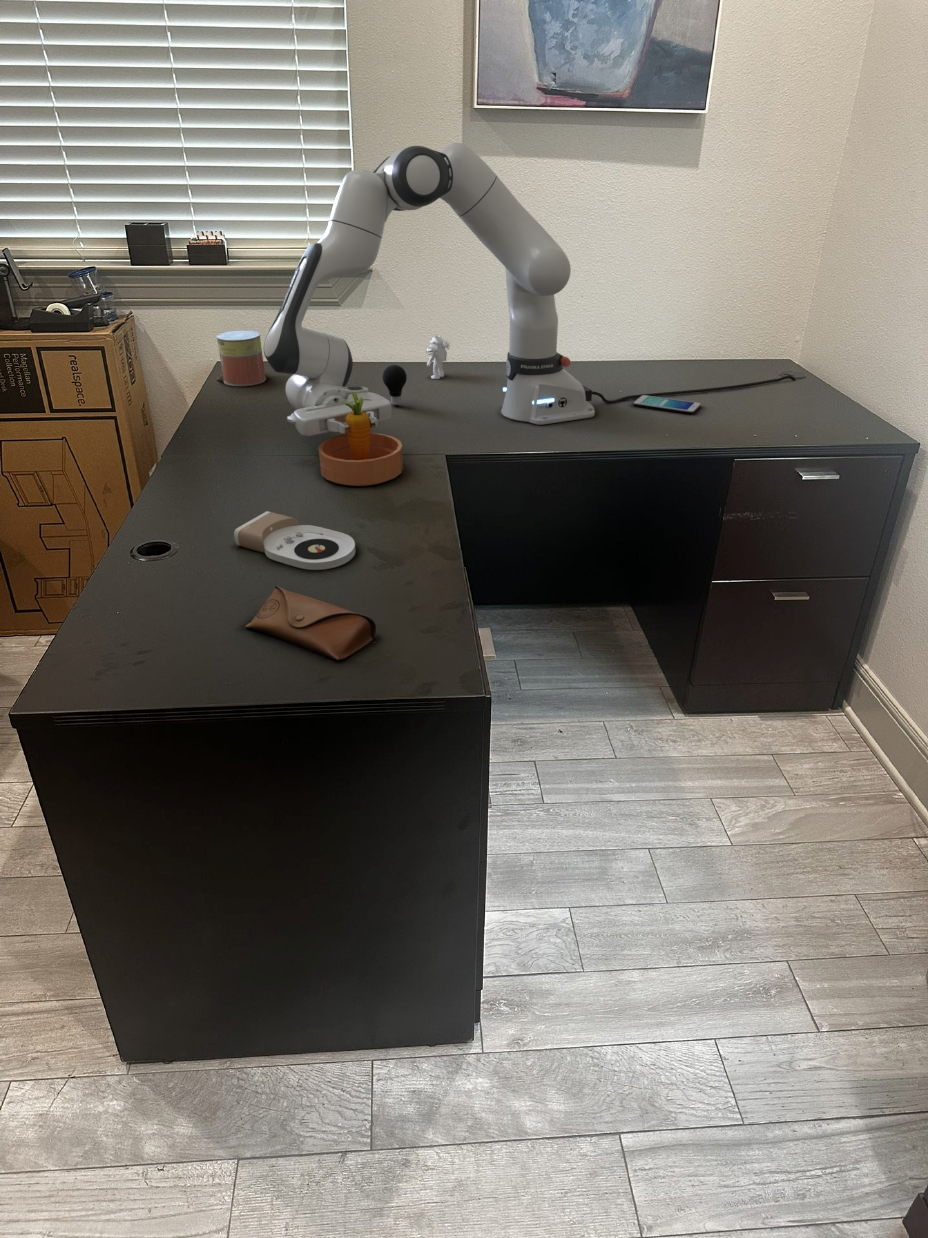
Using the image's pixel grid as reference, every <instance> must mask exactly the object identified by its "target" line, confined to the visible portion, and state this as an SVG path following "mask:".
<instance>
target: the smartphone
mask: <svg viewBox="0 0 928 1238" xmlns="http://www.w3.org/2000/svg"><path fill="white" fill-rule="evenodd" d="M701 405H702V404H701V402H697V401H689V400H682V399H675V398H674V399H673V398H667V397H661V396H647V395H643V396H641V397H639V398H636V400H634V402H633V406H634V407H639V408H646V409H652V410H659V411H667V412H672V413H680V414H687V415H693V414H695V413H696V412H697V410H699V408H700V407H701Z"/></svg>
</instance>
